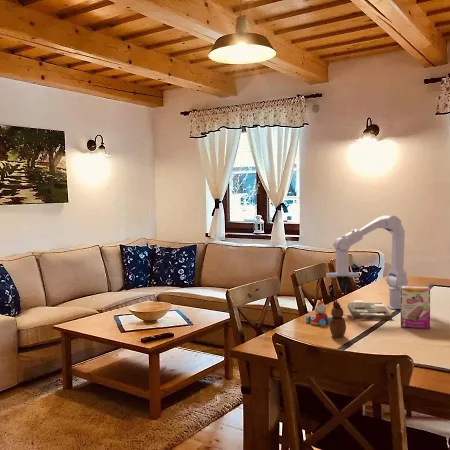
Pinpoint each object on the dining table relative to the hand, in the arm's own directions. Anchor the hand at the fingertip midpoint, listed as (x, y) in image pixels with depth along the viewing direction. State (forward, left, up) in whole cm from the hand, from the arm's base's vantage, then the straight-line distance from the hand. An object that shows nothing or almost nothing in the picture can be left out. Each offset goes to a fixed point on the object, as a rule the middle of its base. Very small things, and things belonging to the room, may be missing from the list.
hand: (342, 292), depth 226 cm
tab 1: (-7, 0, -7) cm, 10 cm away
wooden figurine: (+6, +39, -9) cm, 41 cm away
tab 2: (-15, +8, -7) cm, 18 cm away
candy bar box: (-26, +26, -9) cm, 38 cm away
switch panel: (-11, +3, -9) cm, 14 cm away
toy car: (+12, +20, -9) cm, 25 cm away
